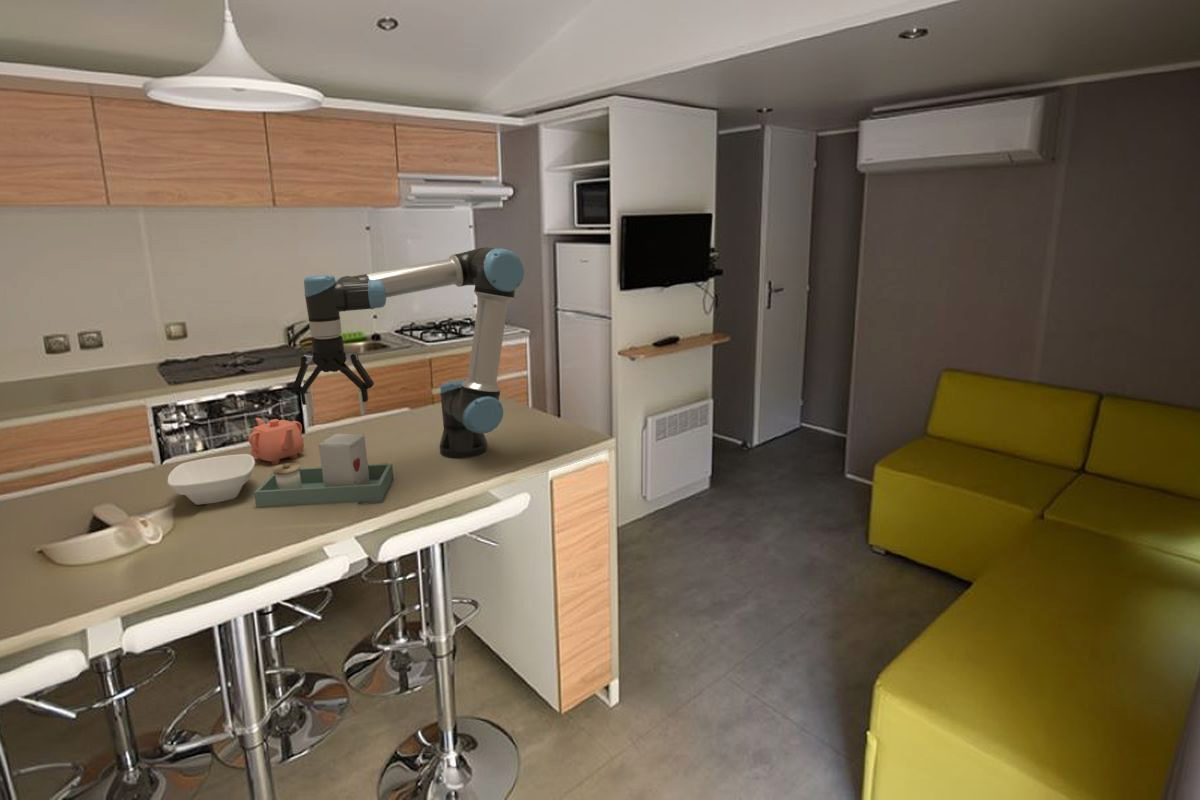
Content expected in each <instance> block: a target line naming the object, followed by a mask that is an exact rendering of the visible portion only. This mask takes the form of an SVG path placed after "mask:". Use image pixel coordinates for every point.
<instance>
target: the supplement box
mask: <svg viewBox="0 0 1200 800" xmlns="http://www.w3.org/2000/svg"><path fill="white" fill-rule="evenodd" d="M365 438H366V437H365V434H355V433H354V434H353V433H352V434H350V433H335V434H332V435H331V436H330V437H327V438H326V439H325V440H323V441H321V442H320V443H319V444H318V449H319V450H318V451H319V458H320V467H322V475H323V482H324V487H332V486H350V485H367V484H370V480H369V471H368V465H369V464H368V462H369V461H368V456H367V447H366V446H367V445H366V439H365Z"/></svg>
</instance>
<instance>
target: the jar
mask: <svg viewBox="0 0 1200 800" xmlns="http://www.w3.org/2000/svg"><path fill="white" fill-rule="evenodd" d="M275 476H276V483H277V489H296V488H302V484H301V478H300V471H299V470H298V471H296V472H294V473H290V474H284V475H277V474H275Z"/></svg>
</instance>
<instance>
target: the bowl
mask: <svg viewBox="0 0 1200 800" xmlns="http://www.w3.org/2000/svg"><path fill="white" fill-rule="evenodd" d="M255 465H256V460H255V458H254V456H252V455H251V453H250V454H248V453H243V454H241V453H239V454H228V455H221V456H213V457H207V458H201V459H196V460H191V461H186V462H182V463H180V464H178V465H177V466H175V467H174V468H173V469H172V470H171V471H170V472H169V475H168V476H167V485H168V486H169V487H170V488H171V489H172V490H173V491H174V492H175V493H177V494H178V495H180V496H182V495H183V496H186V497H187V498H188V499H189V500H190V501H191V502H192V503H194V504H195V505H207V504H215V503H221V502H225V501H229V500H234V499H236V498H237V497H238V496H239V494H240V493H241V490H242V488H243V485H245V484H246V483H248V481H249V480H250V478H251V477H252V476H251V475H252V473H253V471H254V468H255Z"/></svg>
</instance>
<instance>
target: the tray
mask: <svg viewBox="0 0 1200 800" xmlns="http://www.w3.org/2000/svg"><path fill="white" fill-rule="evenodd" d="M393 469H394V468H393V463H391V462H390V463H372V464H368V471H369V480H370V484H367V485H350V486H332V487H324V482H323V475H322V467H321V466H319V467H316V466H315V467H303V468H302V467H300V469H299V471H300V478H301V484H302V488H296V489H277V483H276V476H275V474H274V473H273V472H272V473H271V474H270V475H269V476H268V478H266V480H264V481H263V482H262V484H260V485H259V486H258V488H256V489H255V491H253V495H254V502H255V507H256V508H269V507H285V506H287V507H288V506H302V505H303V506H304V505H318V504H319V505H321V504H337V503H354V502H357V505H361V504H362V505H365V504H364V503H368V504H379V503H383V502H384V500H385V498H386V496H387V494H388V491H389V490H390V488H391V486H392V484H393V482H394V480H395V477H394V470H393Z"/></svg>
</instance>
